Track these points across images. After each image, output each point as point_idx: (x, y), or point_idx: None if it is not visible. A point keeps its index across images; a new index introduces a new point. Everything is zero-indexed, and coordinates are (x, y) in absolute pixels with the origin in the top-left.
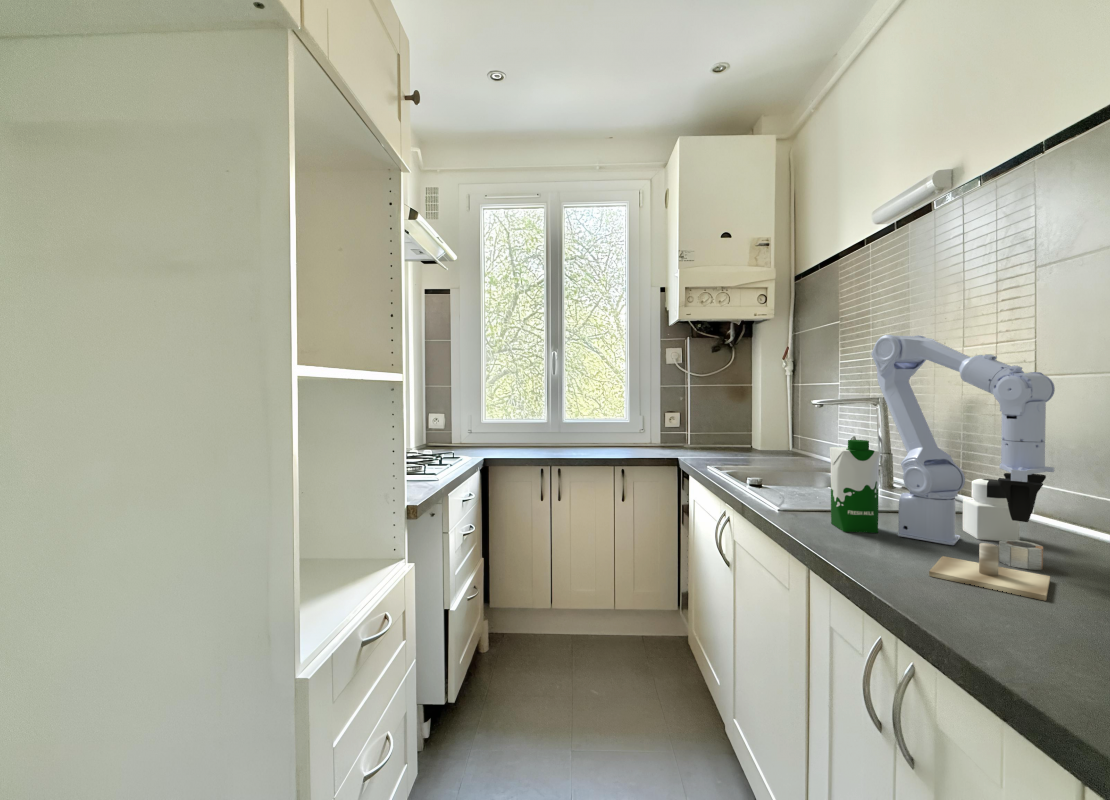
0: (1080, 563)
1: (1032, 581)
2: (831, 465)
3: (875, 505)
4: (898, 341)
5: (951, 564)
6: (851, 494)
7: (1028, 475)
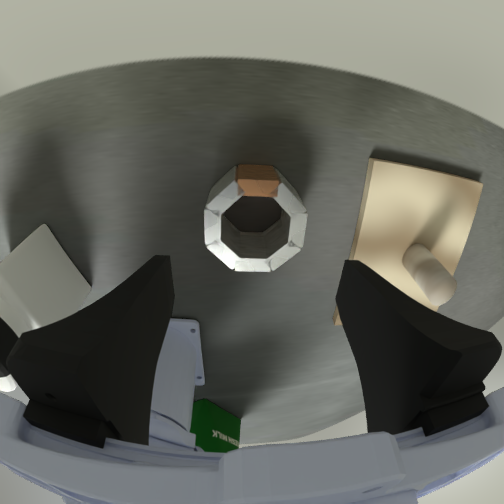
0: (131, 97)
1: (427, 194)
2: None
3: (204, 444)
4: None
5: None
6: None
7: (112, 424)
